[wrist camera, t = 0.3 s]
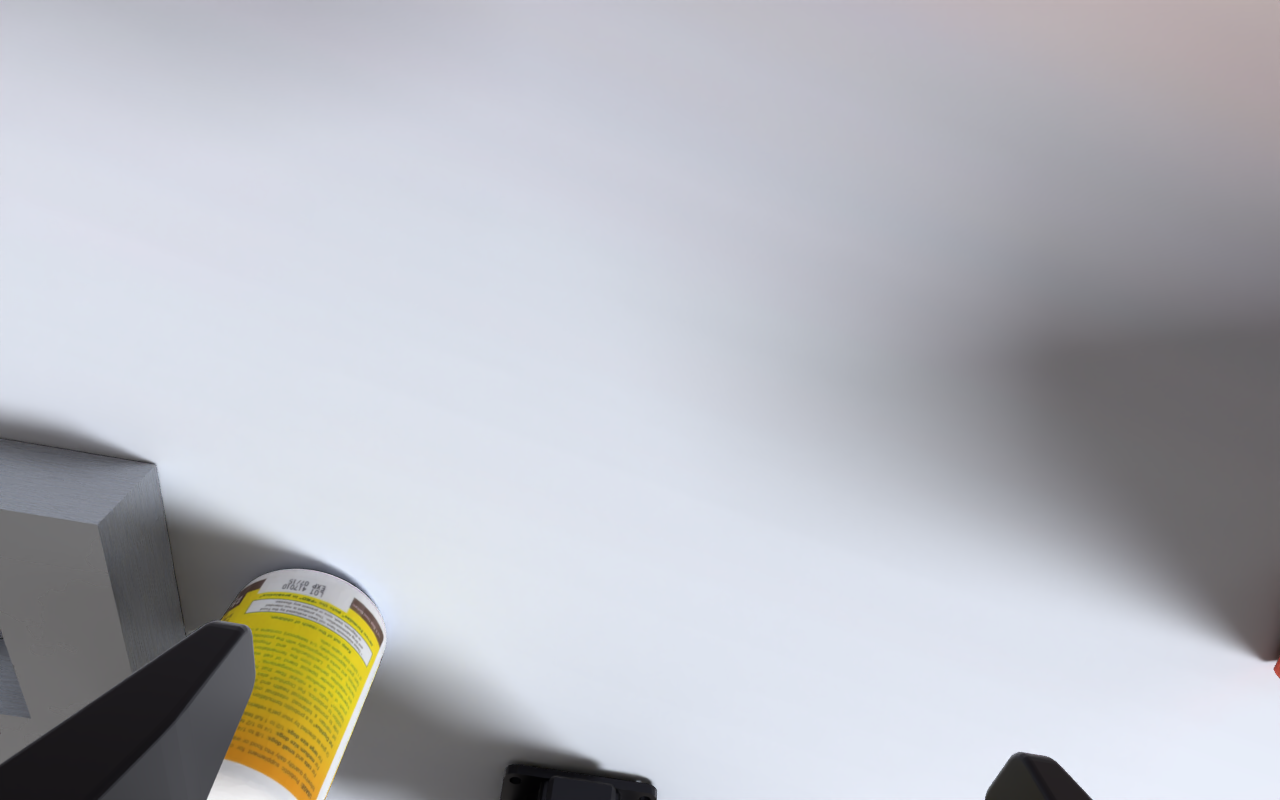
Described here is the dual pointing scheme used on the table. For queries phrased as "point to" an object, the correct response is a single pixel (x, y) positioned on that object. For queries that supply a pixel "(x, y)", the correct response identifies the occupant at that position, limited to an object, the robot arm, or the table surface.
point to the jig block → (77, 583)
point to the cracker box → (1277, 668)
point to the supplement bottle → (300, 684)
